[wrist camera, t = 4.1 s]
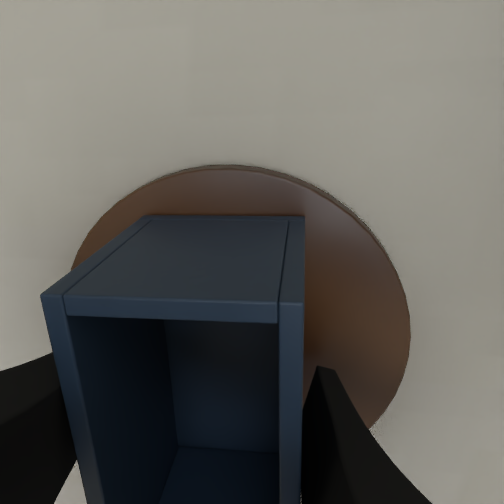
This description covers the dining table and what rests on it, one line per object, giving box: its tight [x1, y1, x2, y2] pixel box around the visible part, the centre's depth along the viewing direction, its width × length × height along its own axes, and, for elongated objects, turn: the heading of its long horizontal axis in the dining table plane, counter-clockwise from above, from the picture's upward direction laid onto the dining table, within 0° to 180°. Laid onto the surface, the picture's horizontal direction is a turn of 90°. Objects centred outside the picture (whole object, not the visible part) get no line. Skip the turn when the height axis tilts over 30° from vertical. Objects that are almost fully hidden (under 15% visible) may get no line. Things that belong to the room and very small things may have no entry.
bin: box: [40, 215, 305, 504], centre depth 13 cm, size 11×5×6 cm, turn 2°
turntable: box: [71, 165, 411, 429], centre depth 16 cm, size 13×13×1 cm
